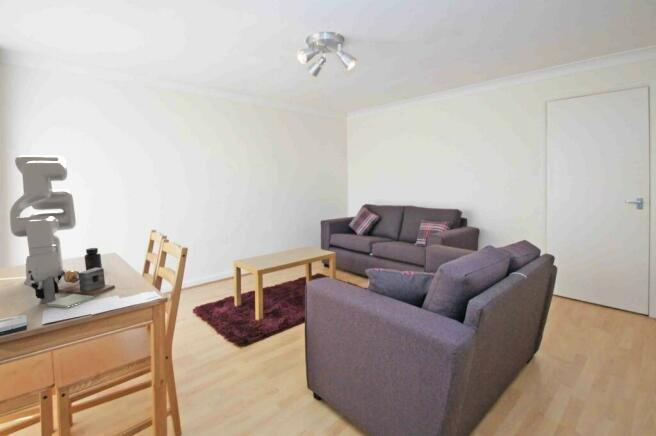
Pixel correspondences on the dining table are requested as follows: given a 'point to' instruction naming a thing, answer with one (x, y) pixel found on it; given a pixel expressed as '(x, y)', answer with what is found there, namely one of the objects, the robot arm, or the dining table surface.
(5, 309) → the dining table surface
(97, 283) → the shaft stand
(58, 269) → the robot arm
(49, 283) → the grey open cylinder
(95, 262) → the supplement bottle
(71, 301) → the tile
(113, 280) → the dining table surface
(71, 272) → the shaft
